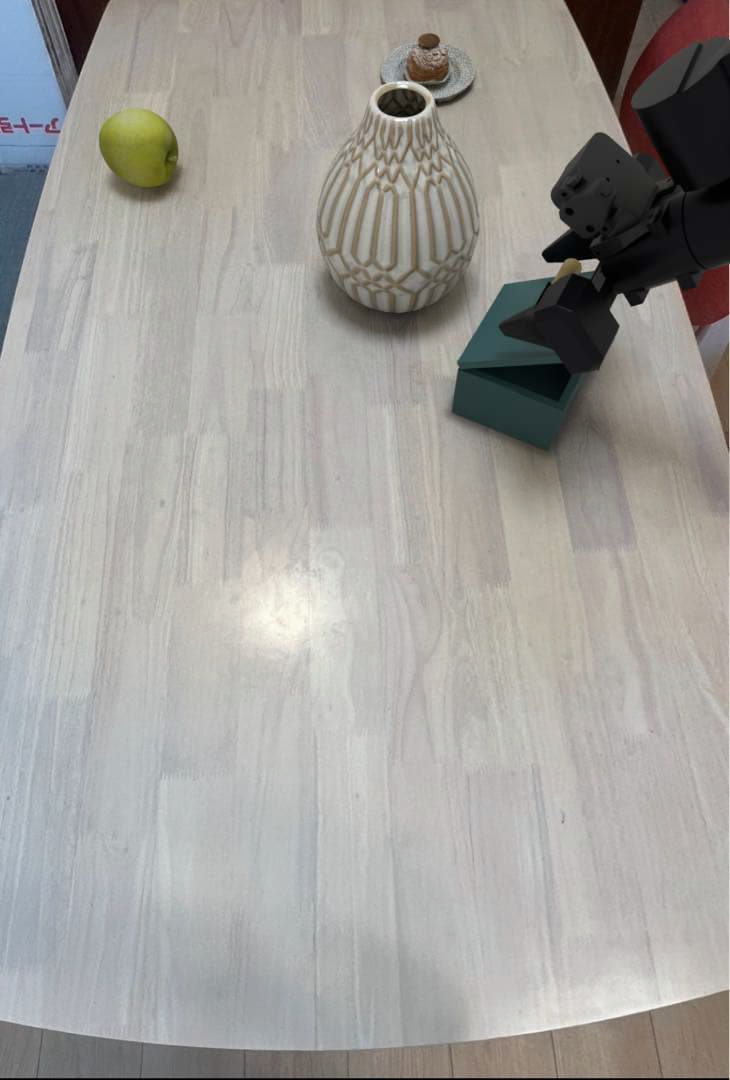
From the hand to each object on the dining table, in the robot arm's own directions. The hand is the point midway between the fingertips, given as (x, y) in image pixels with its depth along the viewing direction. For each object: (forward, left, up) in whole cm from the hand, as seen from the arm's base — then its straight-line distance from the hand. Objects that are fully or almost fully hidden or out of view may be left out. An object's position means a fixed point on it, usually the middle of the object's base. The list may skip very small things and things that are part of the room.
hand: (523, 292), depth 63 cm
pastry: (-29, -40, -12) cm, 51 cm away
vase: (-2, -17, -12) cm, 21 cm away
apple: (+8, -48, -12) cm, 50 cm away
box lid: (-1, +2, -3) cm, 3 cm away
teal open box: (-1, +2, -12) cm, 12 cm away
